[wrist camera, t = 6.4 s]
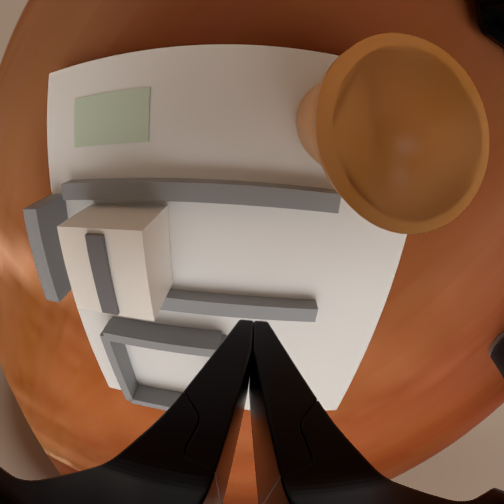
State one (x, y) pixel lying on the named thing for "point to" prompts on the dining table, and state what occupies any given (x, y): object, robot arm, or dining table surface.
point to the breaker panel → (213, 213)
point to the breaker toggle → (118, 258)
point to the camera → (498, 352)
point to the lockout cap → (398, 132)
